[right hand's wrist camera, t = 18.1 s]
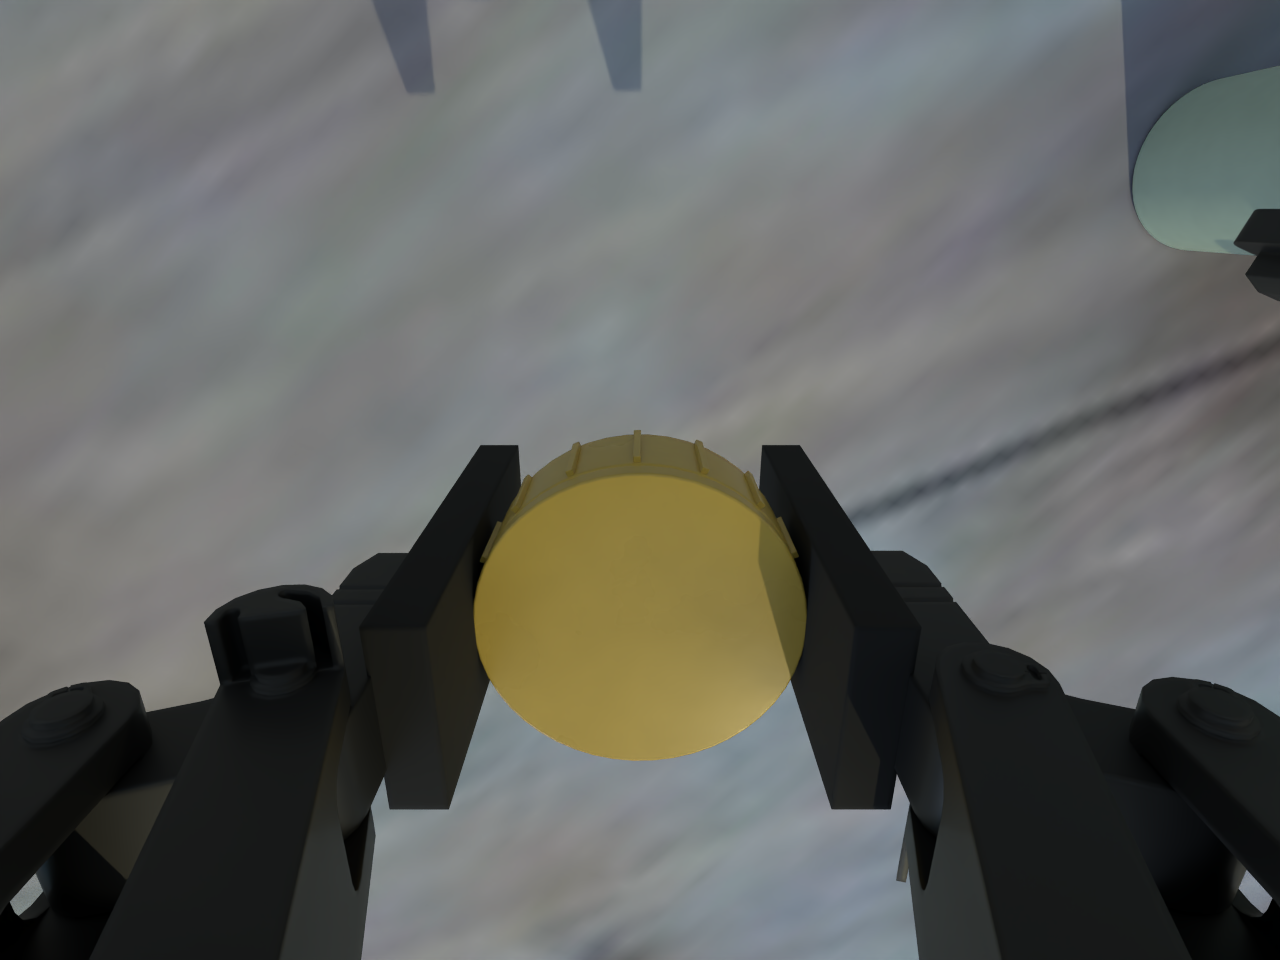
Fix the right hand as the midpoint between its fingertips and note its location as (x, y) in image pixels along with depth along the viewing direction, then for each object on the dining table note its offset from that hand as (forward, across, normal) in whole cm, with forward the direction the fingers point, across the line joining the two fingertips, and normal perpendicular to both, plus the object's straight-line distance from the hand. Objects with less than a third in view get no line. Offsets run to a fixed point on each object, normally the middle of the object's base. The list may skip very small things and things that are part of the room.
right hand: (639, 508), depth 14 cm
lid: (-4, 0, 0) cm, 4 cm away
